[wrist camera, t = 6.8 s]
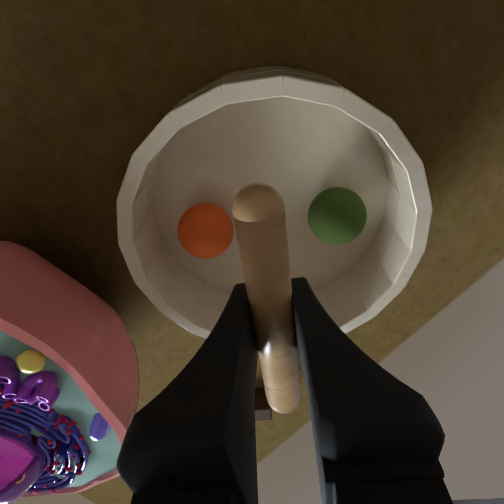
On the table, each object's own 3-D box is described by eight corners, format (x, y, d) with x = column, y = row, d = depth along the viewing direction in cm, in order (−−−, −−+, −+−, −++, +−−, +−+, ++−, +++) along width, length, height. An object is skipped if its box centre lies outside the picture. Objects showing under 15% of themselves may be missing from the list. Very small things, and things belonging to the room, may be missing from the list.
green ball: (359, 175, 18) (376, 198, 15) (357, 224, 20) (372, 252, 17) (303, 182, 18) (310, 206, 16) (305, 229, 20) (312, 258, 17)
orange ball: (230, 191, 19) (226, 216, 16) (238, 237, 20) (236, 266, 18) (177, 197, 19) (165, 223, 16) (189, 242, 20) (180, 272, 18)
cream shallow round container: (410, 43, 15) (461, 48, 11) (384, 289, 23) (409, 339, 19) (105, 90, 16) (60, 108, 13) (179, 308, 24) (166, 359, 20)
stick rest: (225, 324, 25) (223, 345, 23) (257, 321, 25) (258, 342, 23) (244, 400, 30) (243, 422, 29) (271, 398, 30) (272, 420, 28)
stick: (229, 177, 10) (225, 199, 9) (280, 171, 10) (284, 192, 9) (267, 390, 16) (268, 422, 15) (300, 388, 16) (304, 419, 15)
